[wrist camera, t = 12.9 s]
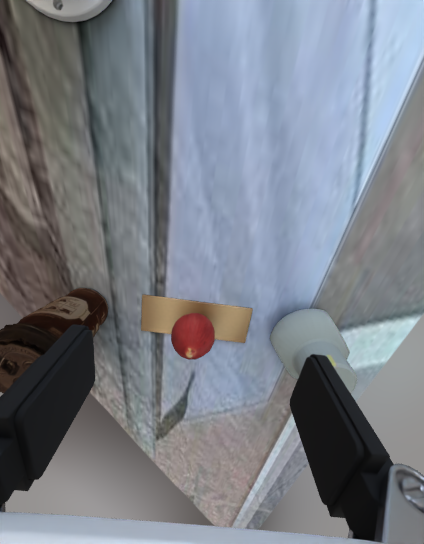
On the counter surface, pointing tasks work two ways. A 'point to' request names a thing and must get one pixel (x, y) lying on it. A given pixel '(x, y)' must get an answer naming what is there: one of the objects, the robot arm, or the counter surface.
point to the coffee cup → (46, 331)
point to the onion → (192, 335)
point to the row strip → (167, 311)
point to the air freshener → (311, 343)
